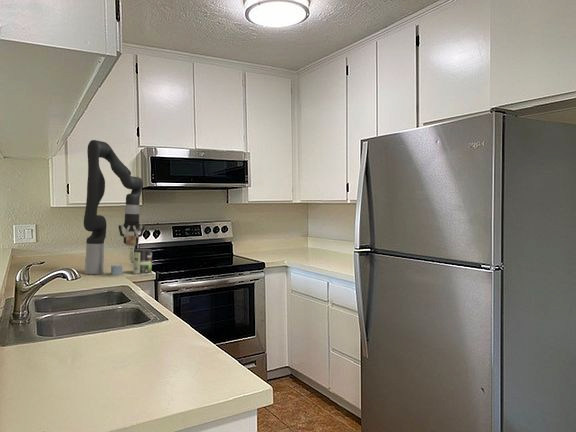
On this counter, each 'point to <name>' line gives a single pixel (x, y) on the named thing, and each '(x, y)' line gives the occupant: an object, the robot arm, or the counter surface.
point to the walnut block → (131, 240)
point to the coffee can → (142, 262)
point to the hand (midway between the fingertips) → (131, 244)
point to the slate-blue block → (116, 269)
